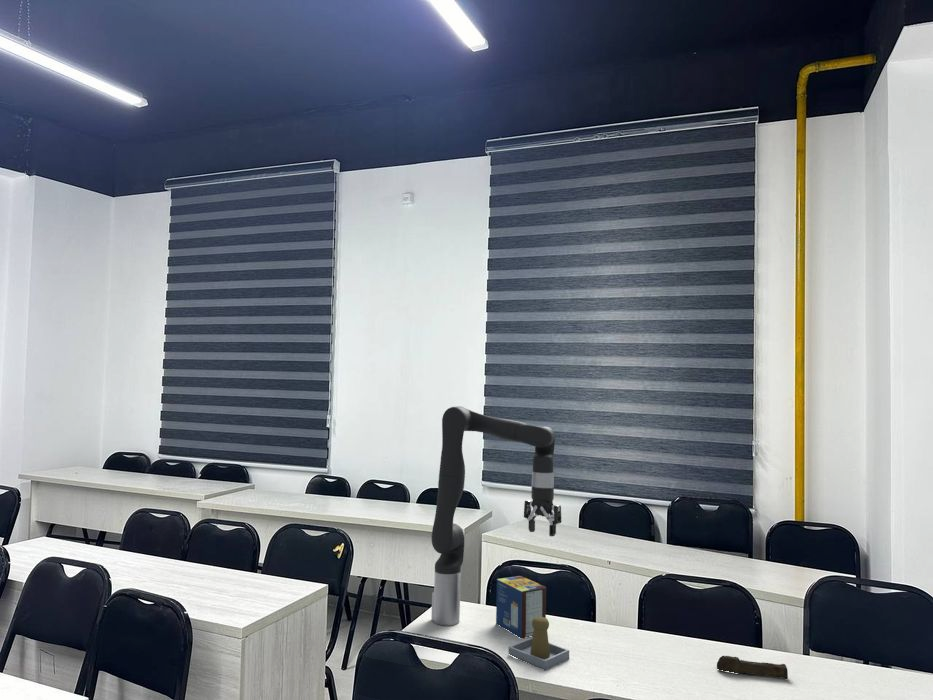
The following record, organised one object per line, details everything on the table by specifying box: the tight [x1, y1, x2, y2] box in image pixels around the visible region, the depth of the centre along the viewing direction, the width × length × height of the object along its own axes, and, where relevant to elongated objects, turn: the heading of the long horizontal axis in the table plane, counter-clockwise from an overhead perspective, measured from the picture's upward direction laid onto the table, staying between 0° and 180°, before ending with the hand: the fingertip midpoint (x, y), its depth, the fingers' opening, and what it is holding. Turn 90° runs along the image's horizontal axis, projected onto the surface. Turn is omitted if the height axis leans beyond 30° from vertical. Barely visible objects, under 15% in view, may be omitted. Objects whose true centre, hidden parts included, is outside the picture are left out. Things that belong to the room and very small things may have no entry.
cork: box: [530, 617, 550, 659], centre depth 190 cm, size 6×6×11 cm
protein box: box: [495, 575, 547, 639], centre depth 213 cm, size 10×15×16 cm
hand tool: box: [716, 655, 789, 680], centre depth 181 cm, size 19×4×5 cm, turn 75°
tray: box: [508, 636, 570, 671], centre depth 189 cm, size 14×12×3 cm
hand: (542, 533), depth 210 cm, fingers open, 8 cm apart
